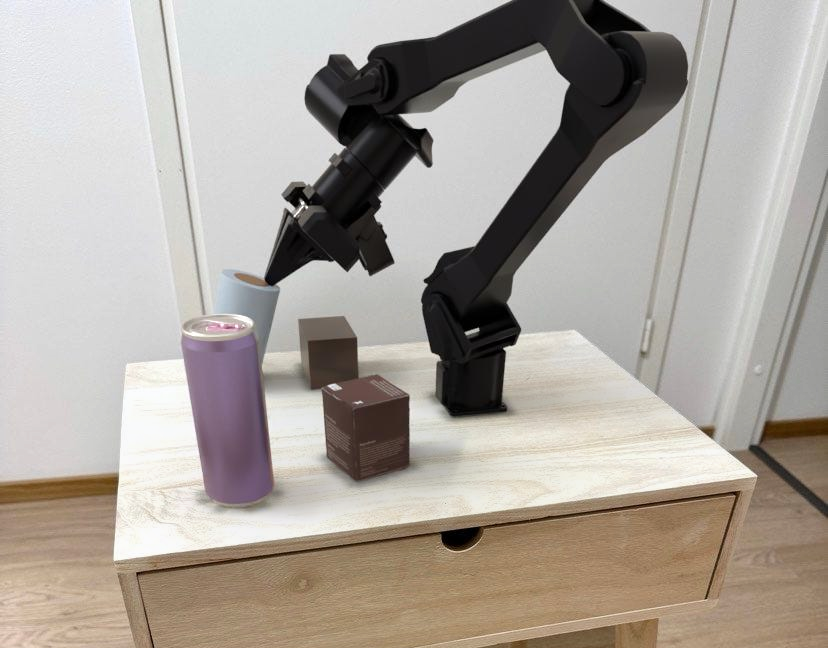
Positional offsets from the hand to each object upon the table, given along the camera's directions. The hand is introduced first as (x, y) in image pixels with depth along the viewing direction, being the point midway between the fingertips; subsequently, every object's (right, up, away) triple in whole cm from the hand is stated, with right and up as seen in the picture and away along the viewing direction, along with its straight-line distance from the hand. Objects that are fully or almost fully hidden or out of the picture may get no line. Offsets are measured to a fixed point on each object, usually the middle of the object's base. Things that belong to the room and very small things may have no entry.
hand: (267, 282), depth 83 cm
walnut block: (+6, -8, +7) cm, 13 cm away
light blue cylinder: (-1, -9, +6) cm, 10 cm away
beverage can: (+1, -24, -16) cm, 29 cm away
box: (+12, -21, -11) cm, 26 cm away
